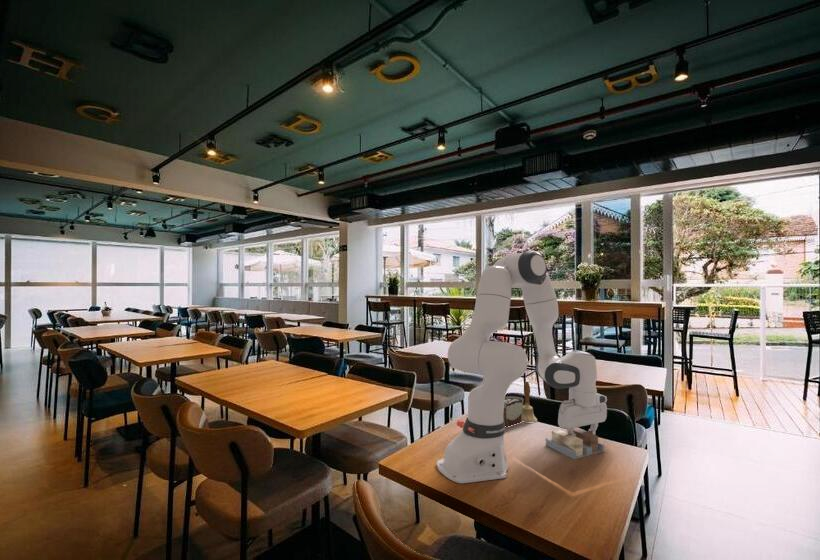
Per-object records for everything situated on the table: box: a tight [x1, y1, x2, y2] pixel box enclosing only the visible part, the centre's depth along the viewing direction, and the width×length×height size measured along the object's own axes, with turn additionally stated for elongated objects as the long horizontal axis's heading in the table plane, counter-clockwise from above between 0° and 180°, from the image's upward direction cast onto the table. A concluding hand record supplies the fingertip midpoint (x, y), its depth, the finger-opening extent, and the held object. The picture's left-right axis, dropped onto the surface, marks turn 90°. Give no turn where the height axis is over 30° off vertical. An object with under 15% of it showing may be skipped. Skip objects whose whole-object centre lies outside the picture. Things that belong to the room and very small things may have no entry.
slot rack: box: [545, 437, 606, 460], centre depth 133 cm, size 14×12×3 cm
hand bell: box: [522, 381, 538, 423], centre depth 162 cm, size 8×8×16 cm
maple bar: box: [551, 429, 583, 456], centre depth 131 cm, size 10×4×5 cm, turn 26°
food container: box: [503, 396, 525, 428], centre depth 158 cm, size 12×6×10 cm, turn 128°
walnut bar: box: [566, 427, 599, 452], centre depth 134 cm, size 10×4×5 cm, turn 23°
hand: (582, 437), depth 134 cm, fingers open, 8 cm apart
